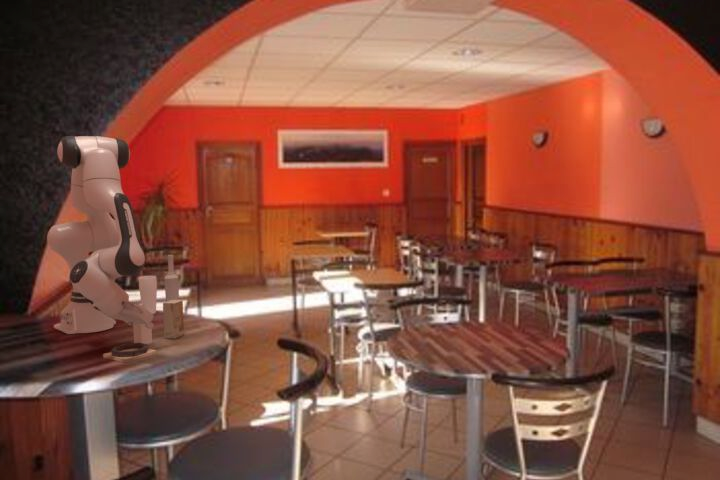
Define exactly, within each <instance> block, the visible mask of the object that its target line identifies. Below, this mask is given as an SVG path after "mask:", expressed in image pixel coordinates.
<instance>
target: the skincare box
mask: <svg viewBox="0 0 720 480" xmlns="http://www.w3.org/2000/svg"><path fill="white" fill-rule="evenodd" d="M183 302H184V301H183V300H182V299H179V300H170V301H167V302H166V301H165V302H162V312H163V317H162V318H163V338H164V339H175V340H176V339H178V338H179V337H181V336H184V335H185V331H184V330H185V328H184V327H185V326H184V303H183ZM183 334H184V335H183Z"/></svg>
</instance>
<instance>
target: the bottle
mask: <svg viewBox="0 0 720 480" xmlns="http://www.w3.org/2000/svg"><path fill="white" fill-rule="evenodd" d="M174 266H175V265H174V254H168V255H167V267H168V268H167V269H168V270H167V271H168V273H167V275H165V277H164V279H163V280H164V291H165V293H164V295H165V302H167V301H170V300H180V291H179V290H180V288H179V287H180V285H179V280H180V279H179V278H180V277H179V276H178V275H177V274H176V273H175V268H174Z"/></svg>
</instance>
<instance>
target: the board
mask: <svg viewBox="0 0 720 480" xmlns="http://www.w3.org/2000/svg"><path fill="white" fill-rule="evenodd" d="M157 354H158V350H157V349H152V348H149V344H143V343H134V342H129V343H123V344H119V345H115V346H113V347H112V349H111V350H110V351H109V352H106V353H103V354H102V357H103V358H104V359H109V360H113V361H117V362H120V363H125V364H128V363H130V362H133V361H134V362H135V361H137V360H140V359H144V358H147V357H150V356H153V355H157Z"/></svg>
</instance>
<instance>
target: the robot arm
mask: <svg viewBox="0 0 720 480" xmlns="http://www.w3.org/2000/svg"><path fill="white" fill-rule="evenodd" d="M56 152H57V156H58V159H59V162H60V164H61V165H63V166H64V167H66V168H69V169H72V171H71V177H70V180H71V181H70V204H71V206H72V207H73V208H74V209H75V210H76V211H78V212H81V213H82V214H85V215H86V220H85V221H69V222H67V221H66V222H64V223H59V224H55V225H52V226H51V227H50V229H49V230H48V232H47V236H46V241H47V245H48V246H49V249H51V250H52V251H53V252H54V253H56V254H58V255H59V256H60V257H61V258H63V259H64V260H65V262H66V263H67V265H68V267H69V270H70V273H69V281H70V283H71V284H72V291H71V292H69V296H70V302H69V303H68V304H67V305H66V306H65V307H64V308H63V309H62V310H61V311H60V314H59V318H60V322H58V323H56V324H53V328H54V329H55V330H57V331H61V332H62V333H65V334H66V335H75V334H89V333H97V332H102V331H106V330H110V329H112V328H114V327H115V326H114V325H116V324H117V321H116V320H120V321H122V322H124V323H127V324H128V325H129V326H133V322H135V323H140V324H145V327H147V328H148V329H153V328H154V326H155V324H154V323H153V319H154V316H155V314H152V313H151V312H150V311H149V310H147V309H146V308H145V307H143V306H142V305H141V304H140V303H138V302H134V301H129V298H130V295H129V293H128V292H126V291H125V290H124V289H123V288H122V287H121V286H120V285H119V284H118V283H116V279H117V278H121V277H130V276H131V277H132V276H137V275H138V274H140V273H141V272H142V271H143V269H144V267H145V264H146V254H145V250H144V248H143V245H142V243H141V240H140V236H139V232H138V227H137V222H136V218H135V213H134V210H133V206H132V203H131V201H130V198H129V197H128V195H125V193H124V191H123V189H122V183H121V182H122V181H121V173H120V170H122V169H125V167H127V166H128V164H129V162H130V158H131V150H130V147H129V145H128V143H127V141H126V140H124V139H121V138H117V137H114V138H112V137H106V136H101V135H100V136H98V135H94V136H93V135H92V136H90V135H84V136H83V135H81V136H75V135H66V136H63V137H62V138H61V139H60V140H59V143H58V146H57V151H56ZM111 215H112V216H111ZM112 217H113V218H112ZM91 252H92V253H91ZM89 253H91V254H90V255H89Z"/></svg>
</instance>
